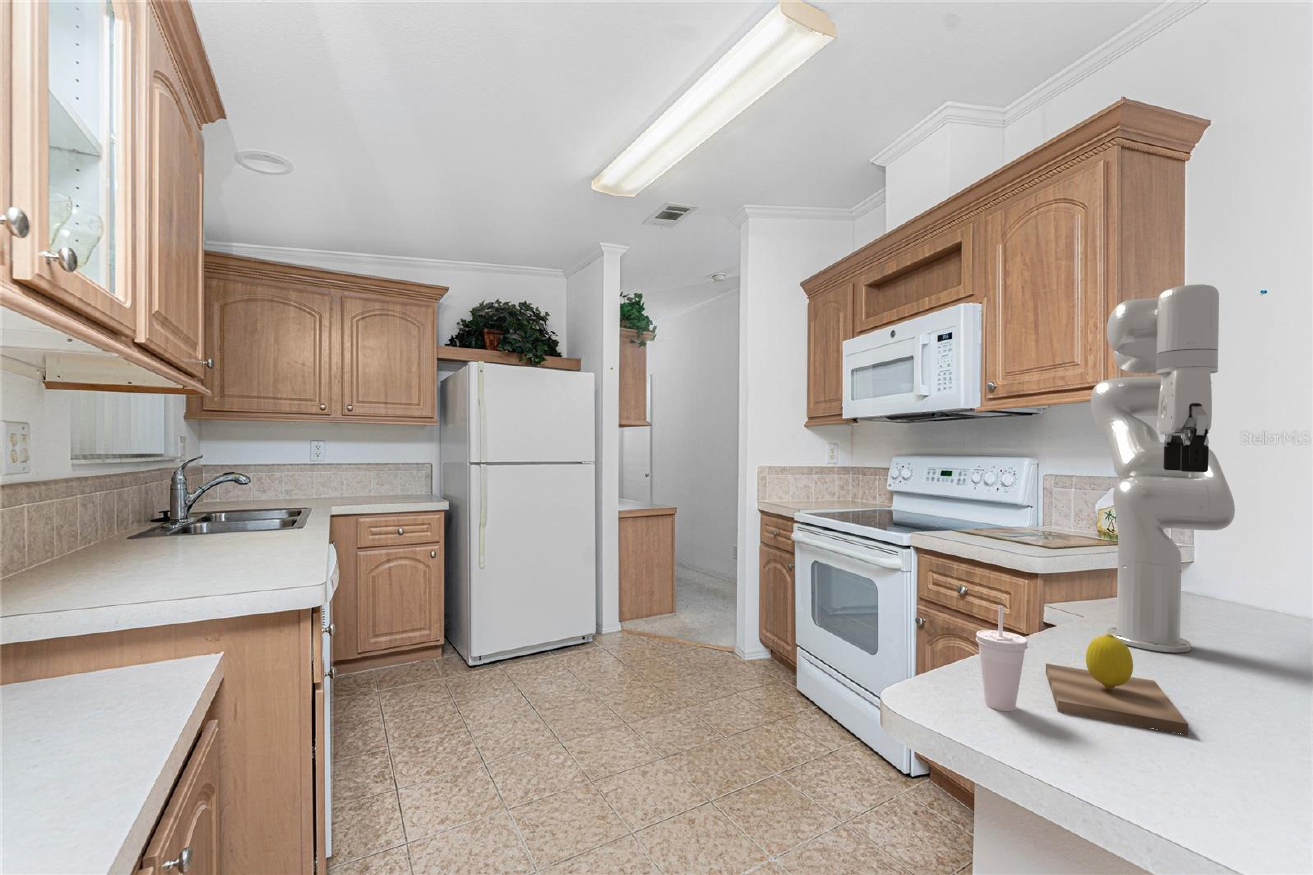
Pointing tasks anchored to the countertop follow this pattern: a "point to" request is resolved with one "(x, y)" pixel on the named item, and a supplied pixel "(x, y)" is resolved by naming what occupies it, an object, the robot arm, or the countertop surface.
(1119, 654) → the lemon
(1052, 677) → the cutting board
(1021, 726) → the countertop surface
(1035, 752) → the countertop surface
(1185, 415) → the robot arm
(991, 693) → the smoothie
